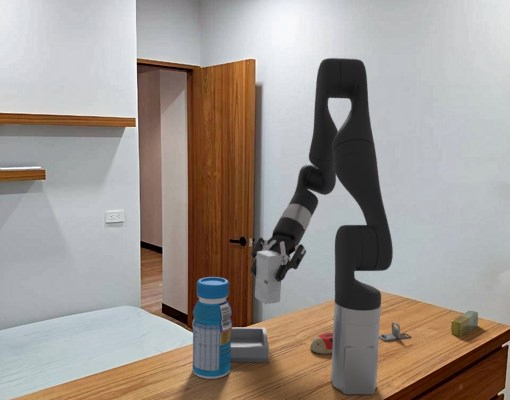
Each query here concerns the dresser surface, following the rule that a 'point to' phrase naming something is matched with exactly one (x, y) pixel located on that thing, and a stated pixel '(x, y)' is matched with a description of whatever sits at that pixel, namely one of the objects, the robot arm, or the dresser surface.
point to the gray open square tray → (249, 345)
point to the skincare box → (268, 277)
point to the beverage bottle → (212, 329)
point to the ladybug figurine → (323, 343)
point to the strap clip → (394, 334)
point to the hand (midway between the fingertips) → (265, 276)
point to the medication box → (464, 323)
